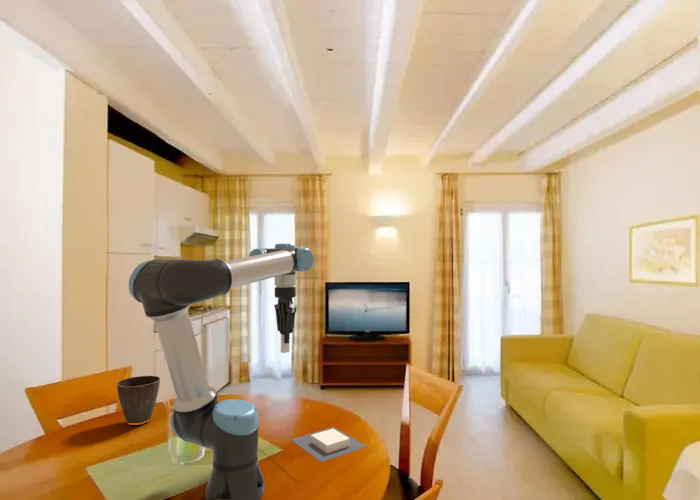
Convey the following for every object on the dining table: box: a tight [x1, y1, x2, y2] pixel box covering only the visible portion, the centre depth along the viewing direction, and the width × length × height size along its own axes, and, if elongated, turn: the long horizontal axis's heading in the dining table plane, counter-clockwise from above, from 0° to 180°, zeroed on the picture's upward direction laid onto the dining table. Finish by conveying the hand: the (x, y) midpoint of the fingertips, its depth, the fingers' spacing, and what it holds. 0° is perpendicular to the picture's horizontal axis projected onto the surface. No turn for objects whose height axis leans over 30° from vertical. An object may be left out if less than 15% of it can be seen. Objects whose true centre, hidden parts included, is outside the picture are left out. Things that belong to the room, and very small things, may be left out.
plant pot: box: [116, 375, 161, 424], centre depth 160 cm, size 15×15×16 cm
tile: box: [311, 429, 350, 453], centre depth 139 cm, size 9×3×10 cm
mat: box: [290, 426, 368, 463], centre depth 140 cm, size 18×20×1 cm
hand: (285, 352), depth 149 cm, fingers closed
